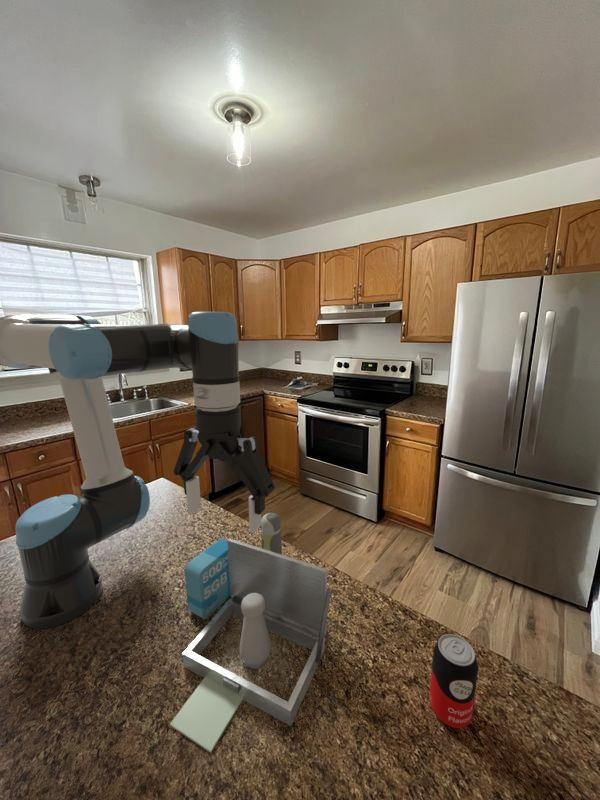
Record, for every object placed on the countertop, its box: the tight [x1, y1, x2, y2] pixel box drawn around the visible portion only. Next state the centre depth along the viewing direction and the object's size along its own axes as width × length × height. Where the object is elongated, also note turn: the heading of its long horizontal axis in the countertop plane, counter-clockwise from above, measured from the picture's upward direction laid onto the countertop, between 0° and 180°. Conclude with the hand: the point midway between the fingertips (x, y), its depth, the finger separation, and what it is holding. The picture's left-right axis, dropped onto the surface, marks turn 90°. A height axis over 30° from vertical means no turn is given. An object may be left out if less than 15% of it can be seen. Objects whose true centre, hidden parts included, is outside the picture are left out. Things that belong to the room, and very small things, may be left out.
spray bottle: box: [260, 512, 283, 555], centre depth 76 cm, size 5×5×20 cm
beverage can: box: [428, 633, 479, 729], centre depth 53 cm, size 6×6×12 cm
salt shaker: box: [239, 593, 272, 670], centre depth 62 cm, size 6×6×13 cm
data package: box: [184, 538, 231, 620], centre depth 76 cm, size 12×4×12 cm, turn 149°
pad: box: [169, 677, 244, 754], centre depth 54 cm, size 8×8×1 cm
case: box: [182, 538, 332, 727], centre depth 61 cm, size 23×16×17 cm
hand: (223, 519), depth 62 cm, fingers open, 13 cm apart
